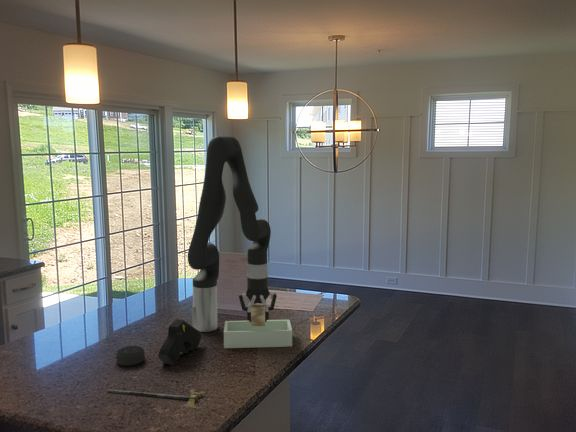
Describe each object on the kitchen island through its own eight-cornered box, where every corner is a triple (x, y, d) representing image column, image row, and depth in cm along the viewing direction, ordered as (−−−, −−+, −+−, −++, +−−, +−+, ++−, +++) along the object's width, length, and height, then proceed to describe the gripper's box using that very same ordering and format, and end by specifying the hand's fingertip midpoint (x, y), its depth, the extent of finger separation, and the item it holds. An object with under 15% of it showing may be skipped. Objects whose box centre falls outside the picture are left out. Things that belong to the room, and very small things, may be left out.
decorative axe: (104, 390, 145) (127, 372, 154) (105, 395, 146) (128, 377, 155) (194, 412, 134) (213, 391, 143) (195, 417, 135) (214, 396, 144)
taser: (155, 359, 162) (170, 314, 169) (181, 373, 177) (194, 331, 183) (166, 361, 161) (181, 316, 167) (191, 375, 175) (204, 332, 182)
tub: (223, 348, 179) (223, 332, 178) (225, 336, 191) (225, 321, 190) (292, 346, 181) (292, 330, 180) (289, 334, 193) (289, 319, 192)
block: (251, 326, 182) (250, 307, 181) (251, 321, 187) (250, 303, 186) (265, 325, 183) (265, 306, 182) (264, 321, 188) (264, 302, 187)
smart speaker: (112, 360, 168) (111, 349, 168) (138, 354, 174) (137, 343, 173) (122, 369, 161) (122, 357, 161) (149, 362, 167) (148, 350, 167)
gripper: (237, 278, 179) (238, 325, 181) (278, 277, 180) (278, 324, 182) (237, 273, 186) (238, 318, 188) (276, 272, 187) (277, 317, 189)
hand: (258, 321), depth 185 cm, fingers closed on block, 5 cm apart
